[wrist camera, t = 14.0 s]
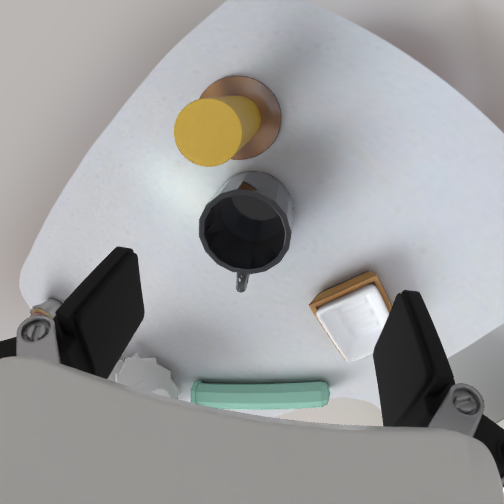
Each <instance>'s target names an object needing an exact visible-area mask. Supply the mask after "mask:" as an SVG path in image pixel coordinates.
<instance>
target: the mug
mask: <svg viewBox="0 0 504 504" xmlns="http://www.w3.org/2000/svg"><path fill="white" fill-rule="evenodd" d="M292 220H293V204H292V200H291V197H290V194H289V192H288V191H287V189H286V188H285V186H284V185H283V184H282V183H281V182H280V181H279V180H277V179H276V178H274V177H273V176H271V175H269V174H266V173H263V172H258V171H247V172H242V173H239V174H237V175H235V176H233V177H231V178H230V179H228V180H227V181H226V182H225V183H224V184H223V185H222V186H221V187H220V188H219V190H218V191H217V192H216V193H215V195H214V196H213V197H212V198H211V200H210V201H209V202H208V204H207V205H206V207H205V209H204V211H203V213H202V215H201V217H200V219H199V237H200V240H201V242H202V244H203V247H204V249H205V251H206V253H207V254H208V255H209V256H210V257H211V258H212V259H213V260H214V261H215V262H216V263H217V264H218V265H220V266H222V267H224V268H226V269H228V270H230V271H232V272H237V281H236V290H237V291H238V292H244V291H245V290H246V287H247V283H248V280H249V276H250V274H253V273H259V272H264V271H267V270H268V269H270V268H272V267H273V266H275V265H276V264H278V263H279V262H280V261H281V260H282V258H283V257H284V255H285V254H286V252H287V251H288V249H289V245H290V239H291V232H292Z"/></svg>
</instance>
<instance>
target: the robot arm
mask: <svg viewBox="0 0 504 504" xmlns="http://www.w3.org/2000/svg"><path fill="white" fill-rule="evenodd" d="M55 313H56V316H55V317H54V318H53V319H52V318H51V317H49V316H47V315H34V316H31V317H29V318H27V319H26V320H24V321H23V322H22V323H21V324H20V326H19V327H18V330H17V337H14V338H11V339H7V340H4V341H0V504H504V429H502V428H501V427H500V426H498V425H497V424H496V423H494V422H493V421H491V420H490V419H489V418H488V417H486V416H484V415H483V411H484V400H483V398H482V396H481V394H480V393H479V392H478V390H476V389H475V388H474V387H473V386H470V385H468V384H464V383H458V384H455V381H454V378H453V377H454V376H453V373H452V370H451V368H450V365H449V362H448V359H447V357H446V354H445V352H444V349H443V346H442V344H441V341H440V339H439V336H438V334H437V331H436V329H435V326H434V324H433V322H432V319H431V317H430V315H429V312H428V310H427V308H426V306H425V303H424V301H423V299H422V297H421V294H420V293H419V292H417V291H409V290H404V291H403V292H402V293H399V294H397V296H396V298H395V301H394V303H393V306H392V308H391V311H390V313H389V316H388V318H387V320H386V323H385V325H384V327H383V329H382V332H381V334H380V336H379V338H378V341H377V343H376V345H375V347H374V351H373V358H374V364H375V370H376V376H377V383H378V389H379V396H380V403H381V410H382V418H383V426H382V427H381V426H359V425H339V424H326V423H314V422H304V421H295V420H287V419H279V418H271V417H264V416H258V415H252V414H245V413H240V412H234V411H229V410H223V409H218V408H213V407H208V406H204V405H199V404H195V403H190V402H186V401H182V400H178V399H174V398H170V397H166V396H162V395H158V394H154V393H151V392H147V391H144V390H140V389H137V388H133V387H130V386H127V385H124V384H120V383H117V382H114V381H111V380H108V377H109V376H110V374H111V372H112V370H113V369H114V367H115V365H116V364H117V362H118V360H119V358H120V357H121V355H122V353H123V352H124V350H125V348H126V347H127V345H128V343H129V342H130V340H131V338H132V337H133V335H134V333H135V332H136V330H137V328H138V327H139V325H140V323H141V322H142V320H143V318H144V304H143V297H142V290H141V282H140V274H139V265H138V257H137V254H136V253H134V252H133V250H132V249H130V248H124V247H116V248H115V249H114V250H113V251H112V252H111V253H110V254H109V255H108V256H107V257H106V258H105V259H104V260H103V261H102V262H101V263H100V264H99V265H98V266H97V267H96V268H95V269H94V270H93V271H92V272H91V273H90V274H89V276H88V277H87V278H86V279H85V280H84V281H83V282H82V283H81V284H80V285H79V286H78V287H77V288H76V289H75V290H74V292H73V293H72V294H71V295H70V296H69V297H68V298H67V299H66V300H65V301H64V303H63V304H62V305H61V306H60V307H59V308H58V309H57V310H56V312H55Z"/></svg>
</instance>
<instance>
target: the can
mask: <svg viewBox="0 0 504 504" xmlns="http://www.w3.org/2000/svg"><path fill="white" fill-rule="evenodd" d="M260 124H261V115H260V111H259V109H258V107H257V106H256V104H255V103H254V102H253V101H251V100H250V99H248V98H246V97H243V96H223V97H212V98H203V99H199V100H195V101H193V102H191V103H190V104H188V105H187V106H186V107H184V109H183V110H182V111H181V112H180V114H179V115H178V117H177V119H176V122H175V126H174V137H175V142H176V145H177V147H178V149H179V150H180V152H181V153H182V155H183V156H184V157H185V158H187V159H188V160H189V161H191V162H192V163H195V164H197V165H200V166H207V167H211V166H217V165H220V164H223V163H225V162H227V161H228V160H229V159H231V158H232V157H233V156H234V155H235V154H236V153H237V152H238V151H239V150H240V149H241V148H242V147H243V146H244V145H245V144H246V143H247V142H248V141H249V140H250V139H251V138H252V137H253V136H254V135H255V134H256V133H257V131H258V130H259V127H260Z"/></svg>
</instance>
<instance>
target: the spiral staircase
mask: <svg viewBox="0 0 504 504" xmlns="http://www.w3.org/2000/svg"><path fill="white" fill-rule="evenodd" d="M170 377H171V371H170V370H168V369H166V368H164V367H162V366H160V365H158V364H157V362H156V357H150V358H140V357H139V355H138V354H137V353H136V354H135V355H133V356H132V357H131V358H130V357H127V359H126V361H125V363H124V362H123V361H122V360H120V361H118V362H117V364H116V365H115V367H114V369H113V370H112V372H111V374H110V376H109V377H108V380H111V381H114V382H117V383H120V384H124V385H127V386H130V387H133V388H137V389H140V390H144V391H147V392H151V393H154V394H158V395H162V396H166V397H170V398H174V399H178V395H179V394H180V393H181V391H180V390H179V388H178V387H177V386H176V385H175V383H174V382H173V381H172V379H171V378H170Z"/></svg>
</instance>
